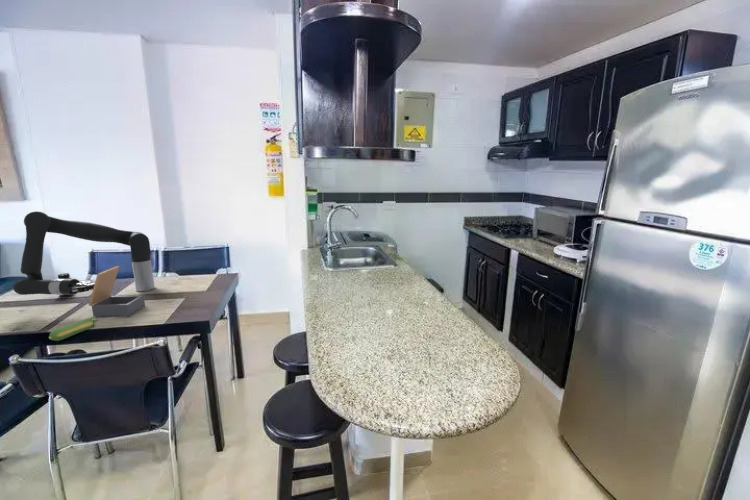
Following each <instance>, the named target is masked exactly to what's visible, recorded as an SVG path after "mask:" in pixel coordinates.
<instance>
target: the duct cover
mask: <svg viewBox="0 0 750 500" xmlns="http://www.w3.org/2000/svg"><path fill="white" fill-rule="evenodd" d="M119 269H120V266H119V265H116V266H114V267H111V268H108V269H106V270H103V271H101V272H98V273H97V274H96V279H95V280H94V281H95V284H94V288H93V290H91V291H92V292H91V294H90V298H89V303H88V306H90V307H92V305H94V304H96V303H98V302H100V301H102V300H104V299H106V298H108V297H110V296H112V292H113V289H114V285H115V282H116V279H117V275H118V274H119V273H118V272H119Z"/></svg>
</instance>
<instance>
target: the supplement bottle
mask: <svg viewBox="0 0 750 500" xmlns="http://www.w3.org/2000/svg"><path fill="white" fill-rule="evenodd" d="M70 275H71V274H70V273H69V272H68V273H67V272H65V273H60V274H57V279H73V278H72V277H71V276H70ZM58 296H59V297H61V298H65V297H66V298H67V297H72V296H73V295H58Z"/></svg>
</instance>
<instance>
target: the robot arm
mask: <svg viewBox="0 0 750 500" xmlns="http://www.w3.org/2000/svg"><path fill="white" fill-rule="evenodd" d="M23 218H24V220H23V225H24V226H25V235H26V236H25V245H24V248H23V253H22V257H21V265H20V273H21V274H23V275H26V277H27V279H21V280H17V281H16V282H15V283H14V284H13V287H12V289H13V291H14V292H15V293H16V294H17V295H21V296H23V295H25V296H27V295H56V296H57V295H58V296H59V295H72V296H74V295H76V294H79V293H85V292H90V291H93V288H94V284H95V281H96V280H93V279H91V280H90V281H80V280H79V279H77V278H72V279H58V278H57V279H44V278H43V277H44V276H43V274H42V268H43V266H42V265H43V257H44V256H43V255H44V243H45V238H46V234H47V233H50V234H53V233H54V234H60V235H64V236H66V237H67V236H68V237H72V238H77V239H79V240H84V241H85V240H86V241H91V242H98V243H118V244H122V245H125V246H129V247H130V253H131V257H130V258H131V259H130V260H131V266H132V272H133V279H134V284H135V291H136V292H147V291H151V289H152V290H153V289H155V287H156V286H155V279H154V273H153V266H152V258H151V257H152V256H151V255H152V251H151V244H150V239H149V237H148V236H147V234H144V233H143V232H140V231H131V230H130V231H129V230H124V229H123V230H121V229H118V228H114V227H111V226H106V225H102V224H99V223H93V222H88V221H81V220H70V219H68V220H67V219H62V218H58V217H54V216H49V215H48V214H46V213H45V212H43V211H31V212H29V213H28V214H26V215H25V216H24V217H23Z"/></svg>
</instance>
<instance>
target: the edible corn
mask: <svg viewBox="0 0 750 500" xmlns="http://www.w3.org/2000/svg"><path fill="white" fill-rule="evenodd" d="M95 317H96V316H91V317H88V318H85V319H82V320H78V321H76V322H73V323H70V324H67V325H66V324H65V325H63V326H60V327H57V328H55V329H53V330H51V331H50V333H49V336H48V339H49V340H51V341H54V342H60V341H63V340H65V339H68V338H70V337H72V336H75V335H77V334H80V333H83V332H84V331H87V330H89V329H92V328H94V327H95V326H96V322H97V321H98V320H97V319H96V318H95Z"/></svg>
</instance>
